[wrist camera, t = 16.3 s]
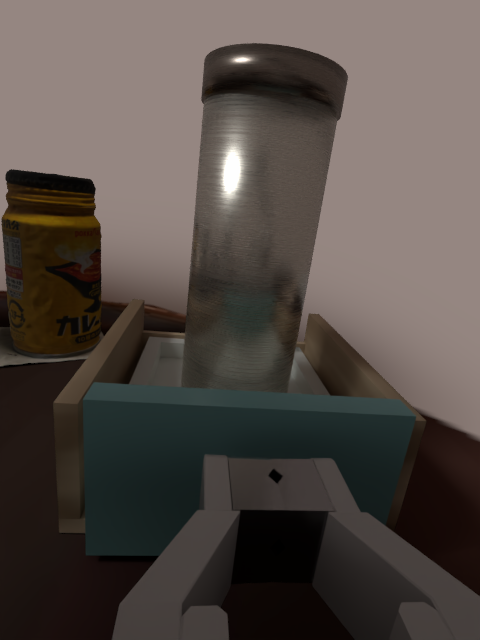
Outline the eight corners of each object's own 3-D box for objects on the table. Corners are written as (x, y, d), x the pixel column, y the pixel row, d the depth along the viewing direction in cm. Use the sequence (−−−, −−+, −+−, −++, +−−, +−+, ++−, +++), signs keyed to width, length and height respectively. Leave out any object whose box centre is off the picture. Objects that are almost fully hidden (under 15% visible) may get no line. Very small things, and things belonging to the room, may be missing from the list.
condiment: (114, 356, 27) (116, 180, 23) (-30, 372, 22) (-55, 158, 19) (96, 324, 33) (95, 180, 29) (-21, 331, 28) (-38, 163, 25)
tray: (85, 555, 12) (82, 399, 10) (147, 374, 24) (151, 291, 22) (376, 556, 13) (416, 416, 11) (293, 383, 25) (306, 304, 23)
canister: (170, 437, 15) (201, 31, 11) (181, 378, 20) (206, 83, 16) (294, 445, 16) (371, 60, 11) (275, 385, 20) (324, 102, 16)
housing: (59, 532, 13) (53, 402, 11) (131, 372, 24) (132, 299, 23) (392, 536, 14) (426, 421, 12) (307, 382, 26) (319, 314, 24)
